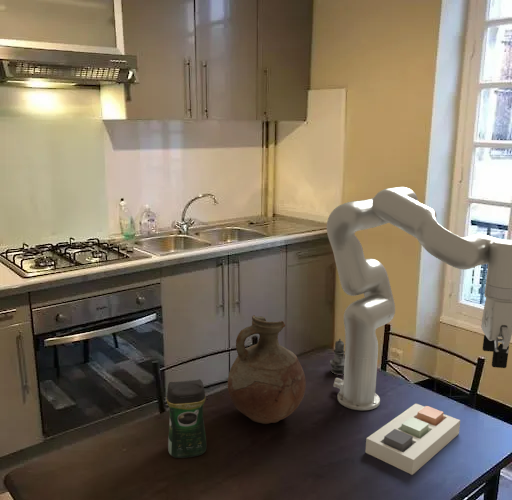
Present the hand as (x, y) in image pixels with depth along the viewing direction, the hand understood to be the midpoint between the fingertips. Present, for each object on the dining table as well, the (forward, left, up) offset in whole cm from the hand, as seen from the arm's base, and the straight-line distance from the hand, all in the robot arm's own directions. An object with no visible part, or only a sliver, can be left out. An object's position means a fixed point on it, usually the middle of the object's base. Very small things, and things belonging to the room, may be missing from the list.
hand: (493, 358), depth 135 cm
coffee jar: (-54, -53, -26) cm, 79 cm away
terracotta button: (-15, 0, -22) cm, 27 cm away
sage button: (-15, -9, -22) cm, 28 cm away
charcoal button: (-15, -17, -22) cm, 32 cm away
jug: (-51, -27, -26) cm, 63 cm away
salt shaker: (-54, +12, -26) cm, 61 cm away
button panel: (-15, -9, -25) cm, 31 cm away
